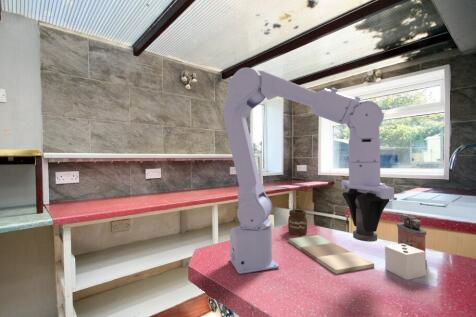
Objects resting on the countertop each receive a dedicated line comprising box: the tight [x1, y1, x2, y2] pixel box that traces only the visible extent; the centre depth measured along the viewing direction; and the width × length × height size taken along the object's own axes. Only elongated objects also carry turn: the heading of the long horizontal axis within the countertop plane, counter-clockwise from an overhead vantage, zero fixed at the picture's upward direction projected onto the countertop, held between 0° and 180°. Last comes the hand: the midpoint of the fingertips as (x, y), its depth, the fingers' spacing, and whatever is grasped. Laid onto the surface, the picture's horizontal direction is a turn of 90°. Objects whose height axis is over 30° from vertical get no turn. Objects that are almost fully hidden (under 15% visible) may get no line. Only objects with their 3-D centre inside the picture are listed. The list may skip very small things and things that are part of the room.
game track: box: [287, 234, 375, 275], centre depth 64 cm, size 10×21×1 cm, turn 16°
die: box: [384, 243, 427, 281], centre depth 52 cm, size 5×5×5 cm
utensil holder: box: [287, 195, 309, 236], centre depth 80 cm, size 6×6×12 cm
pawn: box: [352, 194, 378, 243], centre depth 51 cm, size 4×4×9 cm
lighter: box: [396, 213, 427, 266], centre depth 59 cm, size 8×3×10 cm, turn 179°
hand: (364, 228), depth 51 cm, fingers closed on pawn, 3 cm apart
